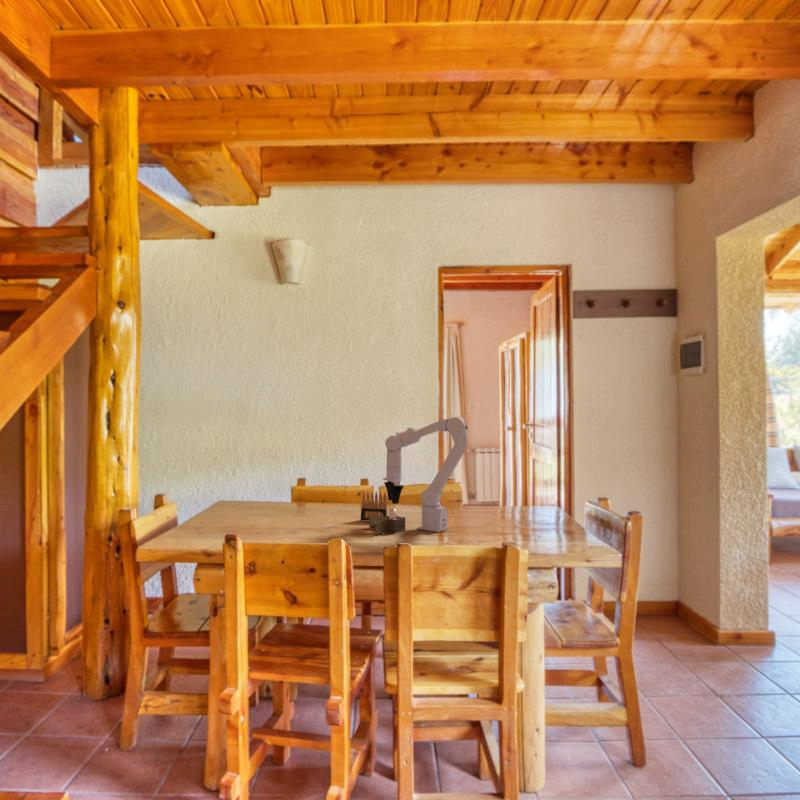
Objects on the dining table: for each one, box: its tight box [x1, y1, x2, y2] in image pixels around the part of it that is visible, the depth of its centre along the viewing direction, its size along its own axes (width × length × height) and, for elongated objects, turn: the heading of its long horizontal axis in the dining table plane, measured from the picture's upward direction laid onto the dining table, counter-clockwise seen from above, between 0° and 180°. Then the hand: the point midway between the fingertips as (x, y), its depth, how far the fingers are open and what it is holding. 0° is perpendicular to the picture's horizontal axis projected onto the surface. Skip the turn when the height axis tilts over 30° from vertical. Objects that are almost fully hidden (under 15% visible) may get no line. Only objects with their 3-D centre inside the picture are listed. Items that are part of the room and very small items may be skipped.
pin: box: [388, 508, 397, 519], centre depth 225 cm, size 3×3×8 cm
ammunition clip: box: [360, 490, 388, 520], centre depth 243 cm, size 11×2×12 cm, turn 79°
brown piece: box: [368, 515, 406, 536], centre depth 224 cm, size 14×14×5 cm
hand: (393, 501), depth 233 cm, fingers open, 7 cm apart
